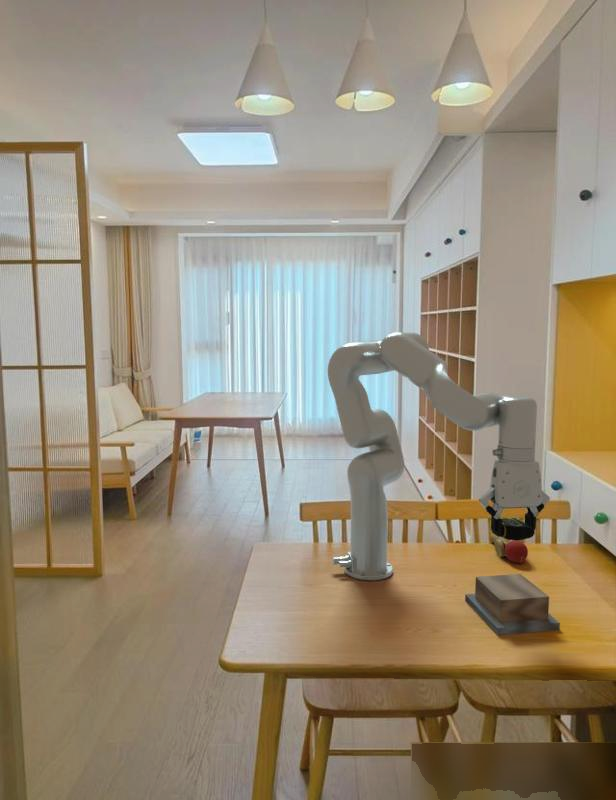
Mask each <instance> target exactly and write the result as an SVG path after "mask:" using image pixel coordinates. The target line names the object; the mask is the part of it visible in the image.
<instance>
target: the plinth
mask: <svg viewBox="0 0 616 800" xmlns="http://www.w3.org/2000/svg"><path fill="white" fill-rule="evenodd" d="M474 587H475V588H474V589H475V590H474V593H465V595H464V601H465V602H466V604H468V605H469V606H470V607H471V609H473V611H475V612H476V614H477V615H478V616H479V617H480V618H481V619H482V620H483V621H484V622H485V623H486V625H487V626H488V627H489V628H490V629H491V630H492V631H493V632H494V633H495V635H497V636H500V635H501V636H502V635H503V636H504V635H513V634H524V633H525V634H526V633H536V632H546V631H559V630H560V629H561V627H560V625H561V622H559V620H557V619H556V618H555V617H554V616H553V615H551V614H550V613H549V610H550V609H549V608H550V607H549V606H550V596H549V595H548V594H546V593H545V591H543V590H541V589H540V588H539V587H538V586H537V585H535V584H534V583H532V582H531V581H530V580H529V579H527V578H526V577H525V576H523V574H521V573H514V574H512V573H511V574H497V575H486V576H483V575H482V576H476V577H475V586H474Z"/></svg>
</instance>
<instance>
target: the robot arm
mask: <svg viewBox="0 0 616 800" xmlns="http://www.w3.org/2000/svg"><path fill="white" fill-rule="evenodd" d="M393 371H395V372H397V373H398V374H400V375H401V376H403V377H404V378H406V379H407V380H408V381H410V383H412V384H413V385H415V386H416V387H418V388H419V389H420V390H421V391H422V392H424V395H425V397H426V398H427V399H428V401H429V403H430V404H431V405H432V407H433V408H434V409H435V410H436V411H438V412H439V413H440V414H441V415H442V416H444V417H445V418H447V419H448V420H450V421H451V422H452V423H454V424H455V425H456V426H458V427H460V428H462V429H464V430H466V431H471V432H472V431H473V432H474V431H475V432H476V431H479V430H482V429H486V428H490V427H495V426H496V427H497V426H498V444H497V448H496V449H495V448H494V449H493V450H492V456H496V457H497V458H495V460H494V463H493V466H492V470H491V476H490V485H489V489H488V490H487V491H486V492H485V493H484V494H482V495H481V496H480V498H479V499H478V503H479V504H480V505H481V506H482V507H483V509H484V510H485V511H486V512H487V513H488V515H489V516H490V517H491V518H490V530H491V532H492V533H491V534H495V535H496V536H498V537H501V536H502V518H501V515H502V514H503V512H504V510H505V509H523V508H525V509H526V511H527V512H525V514H524V523H526V524H528V525H529V526H531V527H532V528H533V530H534V534H533V536H535V534H536V533H535V531H536V528H537V517H539V516H540V513H541V512H542V511H543V509H544V508H545V506H546V505H547V504H548V503H549V501H550V500H551V497H550V496H549V495H548V494H547V493H546V492H544V491H543V489H542V474H541V468H540V462H539V460H536V459H535V458H536V440H537V439H536V438H537V437H536V436H537V435H536V434H537V415H538V413H537V412H538V403H537V401H536V399H534V398H531V397H528V396H517V395H516V396H515V395H514V396H513V395H511V396H507V395H502V394H498V393H492V392H485V393H478V394H471V393H470V392H469V391H467V390H465V389H464V388H462V387H461V386H460V385H458V384H457V383H456V382H455V381H453V380H452V379H451V378H450V376H449V375H448V373H447V371H448V364H447V362H446V360H444V359H443V358H442V357H440V356H438V355H437V354H435V353H433V352H432V351H431V350H430V346H429V343H428V342H427V340H426V338H425V337H423V336H422V335H421V334H419V333H417V332H412V331H411V332H410V331H409V332H407V331H406V332H401V331H400V332H393V333H390V334H388V335H385V337H383V339H381V340H380V341H372V342H371V341H369V342H367V341H365V342H363V341H362V342H350V343H346V344H345V343H344V345H342V346H340V347H338V348H337V349H336V350H335V351H334V352H333V353H332V355H331V356H330V358H329V361H328V364H327V378H328V379H327V380H328V383H329V386H330V389H331V391H332V394H333V398H334V401H335V405H336V410H337V414H338V418H339V422H340V427H341V430H342V434H343V438H344V440H345V443H346V444H347V445H348V446H349V447H351V448H352V449H365V448H369V451H367V452H363V453H361V454H359V455H357V456H355V457H353V458H352V460H351V461H350V463H349V465H348V466H347V474H346V475H347V481H348V482H347V483H348V486H349V487H348V488H349V494H350V551H347V554H346V555H343V556H333V557H332V565H333V566H334V565H335V566H336V565H338V566H339V568H344V572H345V574H346V575H348V576H349V577H351V578H354V579H357V580H361V581H379V580H380V581H381V580H384V579H387V578H389V577H390V576H391V575H392V574H393V572H394V569H393V565H392V564H390V563H389V562H388V509H389V508H388V501H387V497H386V494H385V491H384V486H387V485H389V484H392V483H394V482H397V481H399V479H400V478H401V477H402V476H403V474H404V471H405V458H404V454H403V450H402V446H401V443H400V439H399V435H398V431H397V430H398V429H397V427H396V424H395V421H394V419H393V418H392V416H391V415H390V414H389V413H388V412H387V411H385V410H384V409H381V408H380V409H379V408H371V404H370V401H369V395H368V393H367V391H366V388H365V387H364V384H362V382H361V381H360V379H359V378H360V377H361V376H369V375H370V376H371V375H378V374H384V373H389V372H393ZM489 501H490V502H492V503H493V504H492V506H491V505H490V503H489Z"/></svg>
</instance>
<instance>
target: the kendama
mask: <svg viewBox="0 0 616 800" xmlns="http://www.w3.org/2000/svg"><path fill="white" fill-rule="evenodd" d="M489 541H490V542H491V543H493V544H494V550H495V553H496V555H497V556H498V555H499V556H498V557H500V558H504V557H505V556H506V558H507V559H508V560H509V561H510V562H512V563H513V564H514V563H516V564H521V563H523V562H525V561H526V559H527V558H528V555H529V551H528V547H527V545H526V544H525V543H524V542H523V540H509V541H508V540H507V539H505V538H502V537H498V536H496V535H495V534H493V533H491V534H490V536H489Z"/></svg>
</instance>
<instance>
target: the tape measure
mask: <svg viewBox="0 0 616 800" xmlns="http://www.w3.org/2000/svg"><path fill="white" fill-rule="evenodd" d="M501 519H502V536H501V537H502V538H504V539H505V540H506V541H512V540H522V541H523V540H526V539H531V538H533V536H534V535H535V534H534V530H533V528H532V527H531V526H529V525H528V524H526V523H525V521H522V520H520V519H518V518H516V517H510V518H509V517H508V518H507V517H503V518H501ZM533 534H534V535H533Z"/></svg>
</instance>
